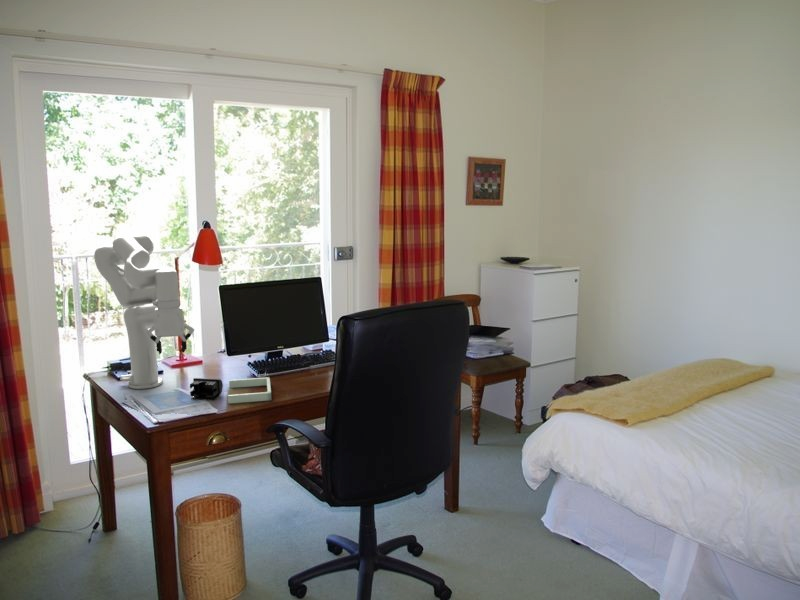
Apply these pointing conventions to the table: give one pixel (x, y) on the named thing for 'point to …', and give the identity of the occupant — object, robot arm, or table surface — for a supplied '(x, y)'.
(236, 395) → the holder
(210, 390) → the end cap
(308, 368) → the table surface
